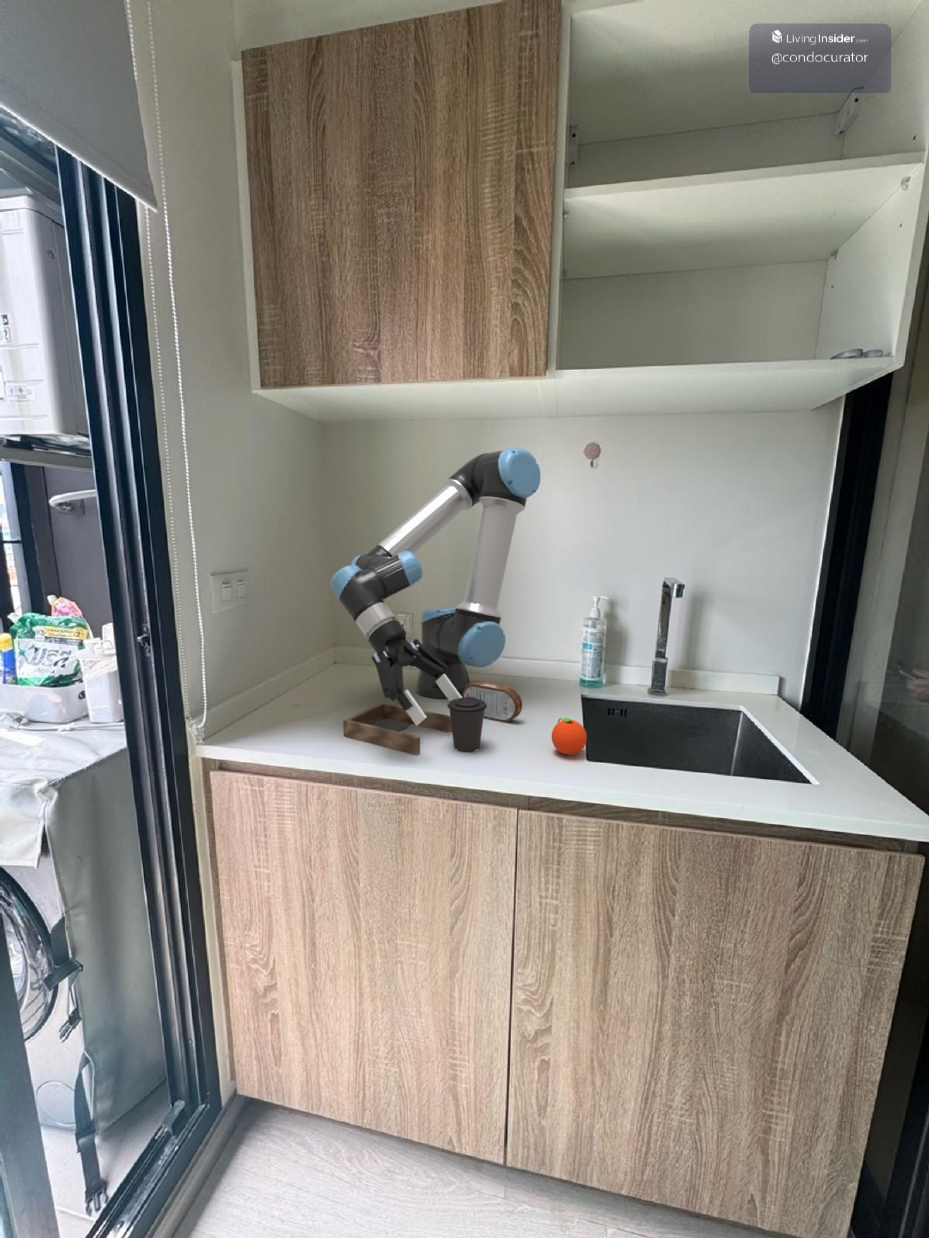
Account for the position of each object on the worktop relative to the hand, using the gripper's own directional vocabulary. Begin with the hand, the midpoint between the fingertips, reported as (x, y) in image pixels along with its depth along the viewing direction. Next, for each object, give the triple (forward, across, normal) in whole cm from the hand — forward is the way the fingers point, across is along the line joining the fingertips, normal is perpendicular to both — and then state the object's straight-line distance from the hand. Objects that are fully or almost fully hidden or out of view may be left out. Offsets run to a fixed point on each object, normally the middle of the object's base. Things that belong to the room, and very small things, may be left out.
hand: (440, 711), depth 106 cm
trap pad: (-5, -2, -17) cm, 18 cm away
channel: (-3, -2, -14) cm, 14 cm away
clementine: (+22, -11, +11) cm, 27 cm away
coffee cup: (+9, -3, -2) cm, 10 cm away
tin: (+6, -21, -5) cm, 22 cm away
